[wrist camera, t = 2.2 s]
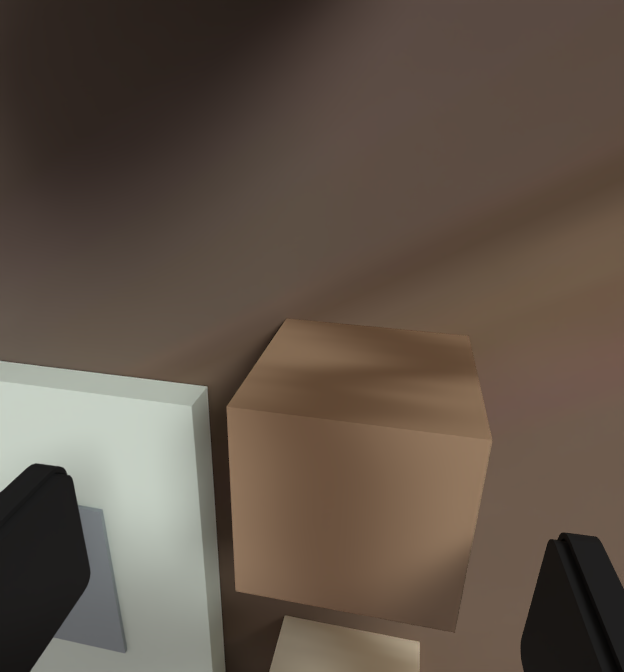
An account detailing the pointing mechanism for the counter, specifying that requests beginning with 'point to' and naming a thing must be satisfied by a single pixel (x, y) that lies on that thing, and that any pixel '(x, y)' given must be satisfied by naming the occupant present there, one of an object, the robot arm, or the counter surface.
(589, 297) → the counter surface
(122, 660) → the build board
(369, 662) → the maple cube
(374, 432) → the walnut cube
